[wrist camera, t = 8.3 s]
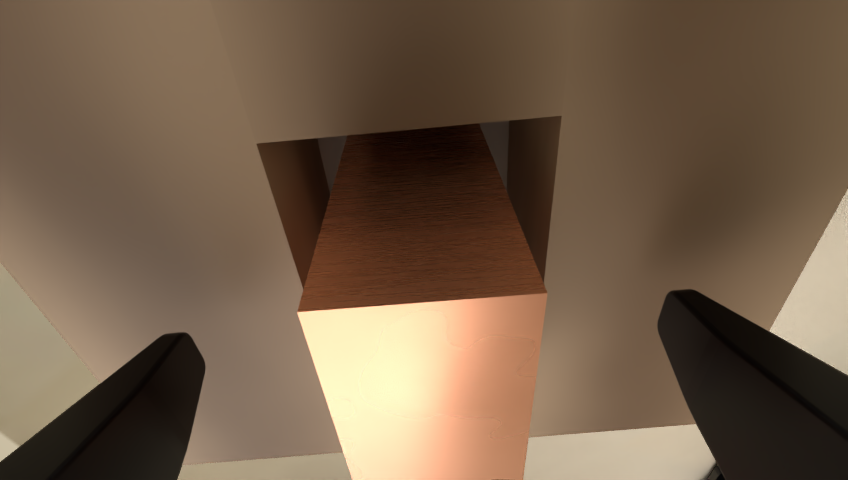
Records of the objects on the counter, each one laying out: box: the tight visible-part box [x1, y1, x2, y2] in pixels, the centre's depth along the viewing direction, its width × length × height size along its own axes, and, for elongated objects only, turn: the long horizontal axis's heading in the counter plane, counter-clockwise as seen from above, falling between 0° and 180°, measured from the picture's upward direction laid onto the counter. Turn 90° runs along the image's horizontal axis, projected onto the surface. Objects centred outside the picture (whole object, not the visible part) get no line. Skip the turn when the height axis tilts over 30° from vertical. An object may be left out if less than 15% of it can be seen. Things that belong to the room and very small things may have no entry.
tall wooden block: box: [297, 123, 548, 480], centre depth 9 cm, size 3×5×7 cm, turn 4°
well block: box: [0, 0, 848, 465], centre depth 11 cm, size 16×12×5 cm
